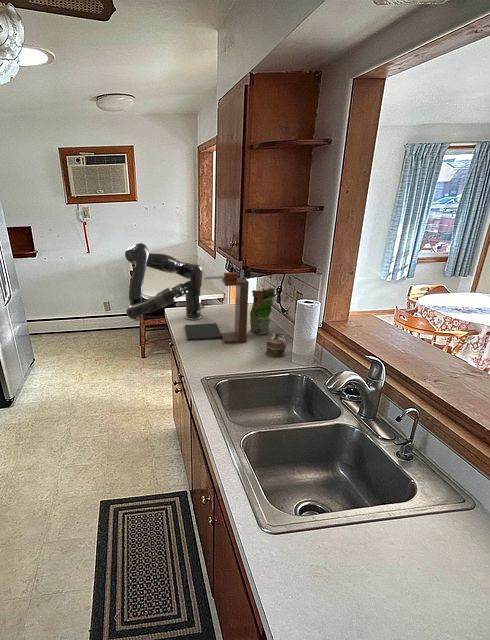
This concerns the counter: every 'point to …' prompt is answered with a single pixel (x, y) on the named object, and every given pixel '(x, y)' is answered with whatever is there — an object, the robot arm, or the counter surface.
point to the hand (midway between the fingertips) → (192, 284)
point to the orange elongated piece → (224, 276)
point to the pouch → (261, 310)
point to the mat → (202, 331)
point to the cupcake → (276, 345)
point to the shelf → (238, 312)
